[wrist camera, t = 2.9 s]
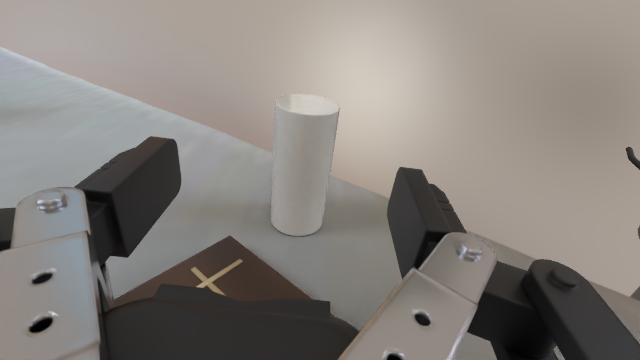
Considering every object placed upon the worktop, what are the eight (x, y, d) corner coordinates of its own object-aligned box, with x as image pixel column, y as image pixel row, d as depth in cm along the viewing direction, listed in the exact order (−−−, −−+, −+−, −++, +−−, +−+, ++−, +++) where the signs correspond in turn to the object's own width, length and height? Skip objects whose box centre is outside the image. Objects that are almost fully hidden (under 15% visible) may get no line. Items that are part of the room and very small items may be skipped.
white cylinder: (295, 198, 29) (305, 90, 24) (333, 220, 27) (352, 106, 22) (259, 218, 26) (261, 99, 21) (298, 244, 24) (311, 119, 19)
